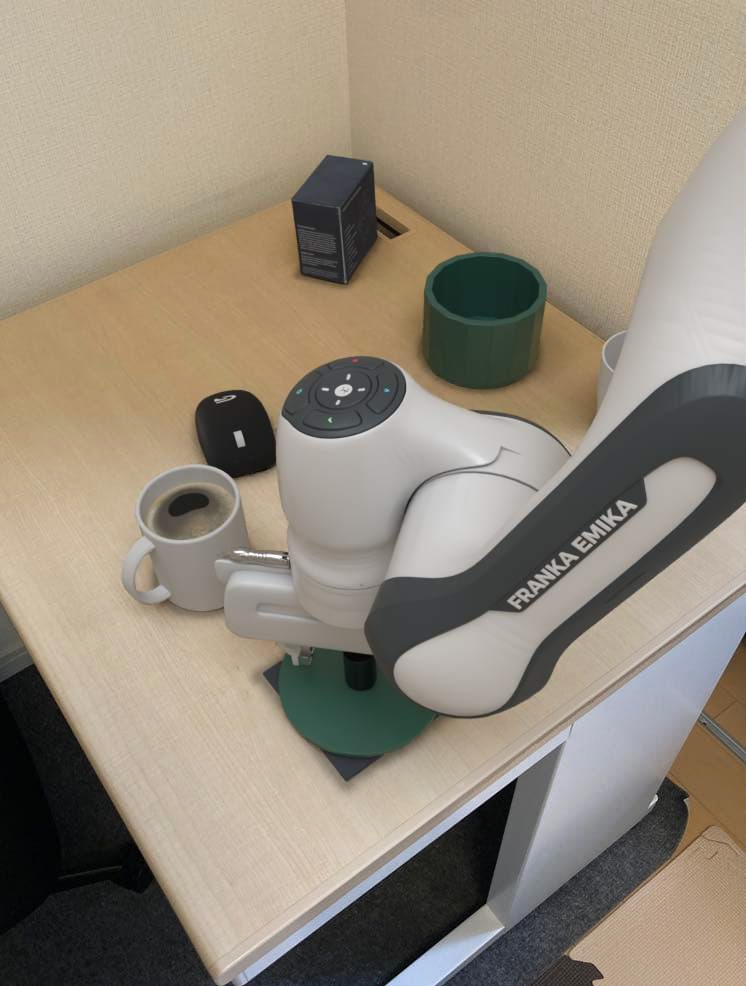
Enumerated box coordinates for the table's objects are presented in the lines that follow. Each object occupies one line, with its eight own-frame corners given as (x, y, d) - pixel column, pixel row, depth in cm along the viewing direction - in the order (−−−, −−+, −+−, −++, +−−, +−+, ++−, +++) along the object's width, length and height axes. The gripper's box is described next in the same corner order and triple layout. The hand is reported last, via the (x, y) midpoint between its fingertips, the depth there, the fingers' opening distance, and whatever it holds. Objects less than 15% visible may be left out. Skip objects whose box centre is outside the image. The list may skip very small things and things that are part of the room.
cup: (615, 472, 89) (636, 396, 82) (569, 420, 94) (585, 344, 86) (683, 445, 91) (710, 368, 83) (635, 396, 96) (656, 319, 88)
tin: (539, 319, 105) (549, 255, 98) (534, 393, 97) (544, 329, 90) (430, 311, 106) (432, 248, 100) (416, 383, 99) (417, 320, 92)
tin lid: (451, 626, 79) (454, 588, 74) (433, 773, 70) (435, 739, 66) (298, 607, 81) (292, 569, 76) (263, 747, 72) (254, 713, 68)
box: (331, 229, 118) (326, 152, 110) (378, 238, 116) (377, 161, 108) (297, 275, 112) (289, 197, 104) (346, 286, 110) (342, 207, 102)
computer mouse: (255, 392, 99) (250, 364, 96) (285, 467, 92) (281, 439, 89) (188, 410, 98) (181, 381, 95) (213, 487, 91) (206, 459, 88)
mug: (251, 530, 87) (237, 457, 79) (258, 611, 81) (243, 541, 73) (138, 544, 87) (112, 472, 79) (136, 627, 81) (108, 558, 73)
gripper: (197, 582, 62) (227, 683, 73) (498, 618, 59) (483, 718, 70) (221, 512, 66) (246, 618, 77) (505, 543, 63) (490, 649, 74)
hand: (361, 666), depth 73 cm, fingers open, 8 cm apart
